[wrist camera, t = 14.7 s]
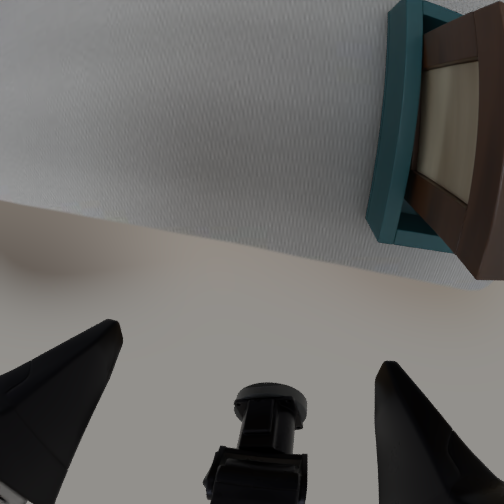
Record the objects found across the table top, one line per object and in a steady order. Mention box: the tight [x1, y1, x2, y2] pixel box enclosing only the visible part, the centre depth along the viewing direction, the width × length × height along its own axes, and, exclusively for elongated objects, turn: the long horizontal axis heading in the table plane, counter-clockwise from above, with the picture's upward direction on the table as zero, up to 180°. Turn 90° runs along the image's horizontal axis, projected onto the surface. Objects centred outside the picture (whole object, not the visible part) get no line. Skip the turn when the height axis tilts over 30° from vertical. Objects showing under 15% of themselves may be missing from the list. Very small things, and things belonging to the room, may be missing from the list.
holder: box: [365, 0, 463, 254], centre depth 15 cm, size 8×14×4 cm, turn 177°
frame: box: [404, 1, 504, 280], centre depth 11 cm, size 4×10×11 cm, turn 1°
